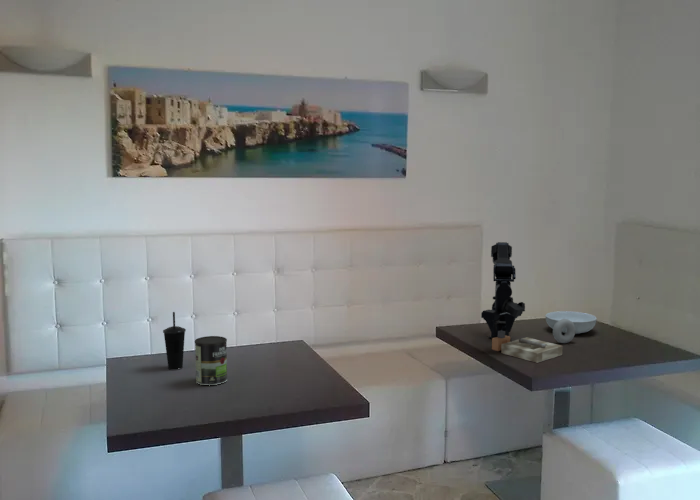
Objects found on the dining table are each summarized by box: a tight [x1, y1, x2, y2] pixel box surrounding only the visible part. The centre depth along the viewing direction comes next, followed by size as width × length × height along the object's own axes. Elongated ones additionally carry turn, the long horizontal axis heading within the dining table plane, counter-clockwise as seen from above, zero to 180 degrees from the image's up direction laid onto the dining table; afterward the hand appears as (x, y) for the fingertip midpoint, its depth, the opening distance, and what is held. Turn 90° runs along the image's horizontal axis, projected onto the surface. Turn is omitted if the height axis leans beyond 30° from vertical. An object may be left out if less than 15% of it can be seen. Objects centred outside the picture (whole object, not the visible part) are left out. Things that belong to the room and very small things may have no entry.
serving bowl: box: [544, 310, 598, 335], centre depth 284 cm, size 21×21×7 cm
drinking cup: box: [162, 311, 187, 370], centre depth 231 cm, size 8×8×20 cm
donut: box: [552, 319, 576, 344], centre depth 265 cm, size 10×4×10 cm, turn 108°
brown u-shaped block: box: [491, 330, 511, 352], centre depth 257 cm, size 3×8×7 cm, turn 130°
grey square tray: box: [500, 336, 564, 364], centre depth 250 cm, size 16×16×5 cm
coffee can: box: [194, 335, 228, 387], centre depth 217 cm, size 10×10×14 cm
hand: (501, 333), depth 257 cm, fingers open, 9 cm apart
